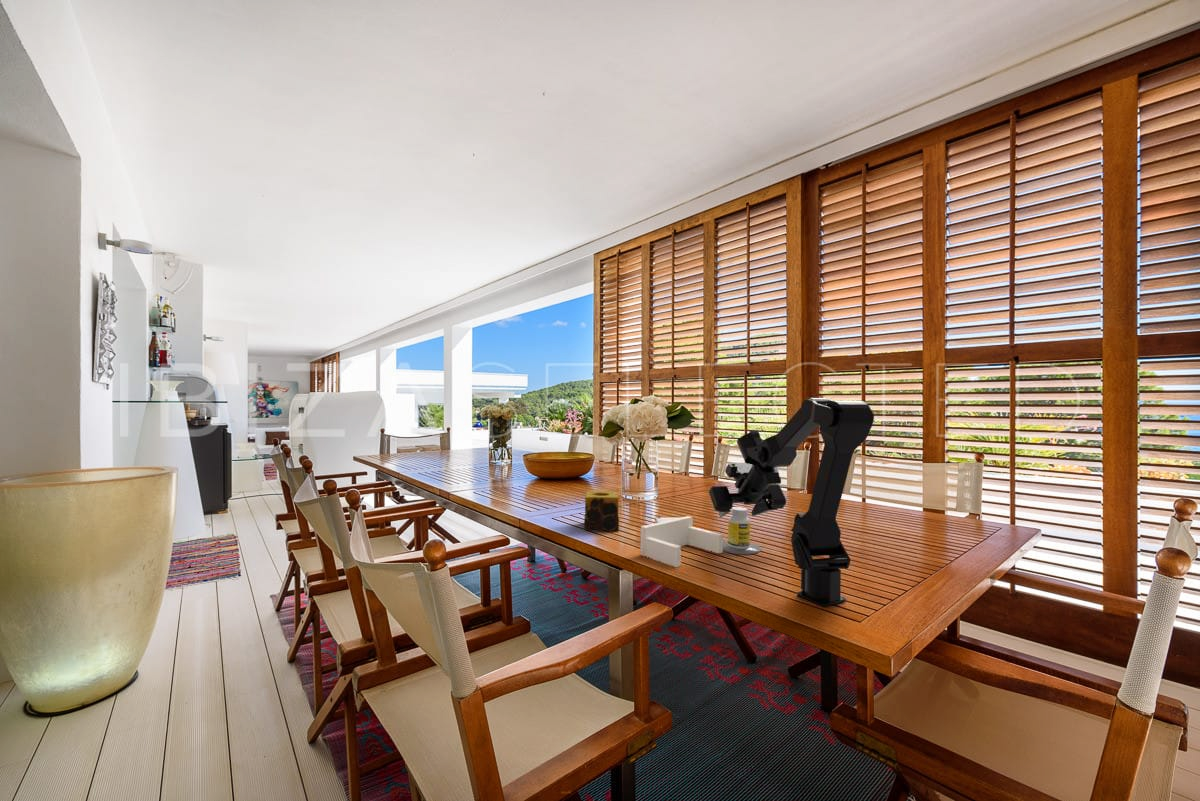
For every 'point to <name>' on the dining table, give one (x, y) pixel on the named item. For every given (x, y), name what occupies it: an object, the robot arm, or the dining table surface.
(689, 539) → the cream u-shaped arch
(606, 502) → the candle
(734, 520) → the supplement bottle
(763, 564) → the dining table surface
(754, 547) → the coaster
